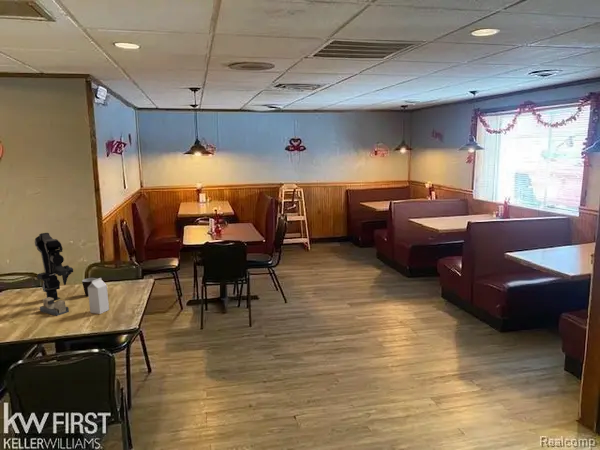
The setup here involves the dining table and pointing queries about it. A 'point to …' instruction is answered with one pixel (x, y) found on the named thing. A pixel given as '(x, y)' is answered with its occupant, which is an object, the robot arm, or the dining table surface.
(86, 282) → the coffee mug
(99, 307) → the milk carton
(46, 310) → the rail
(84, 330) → the dining table surface
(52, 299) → the block
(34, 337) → the dining table surface
